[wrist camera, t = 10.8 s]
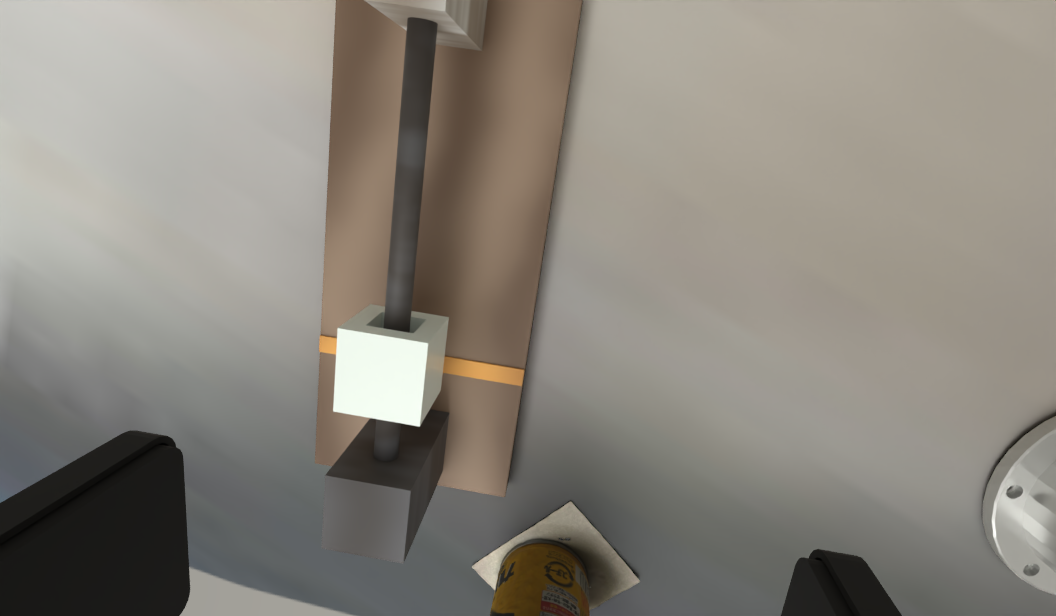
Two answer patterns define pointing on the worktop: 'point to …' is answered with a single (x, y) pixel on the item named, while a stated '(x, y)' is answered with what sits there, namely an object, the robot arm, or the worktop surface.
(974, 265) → the worktop surface
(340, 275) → the rod slider rig
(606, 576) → the condiment
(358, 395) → the sleeve
